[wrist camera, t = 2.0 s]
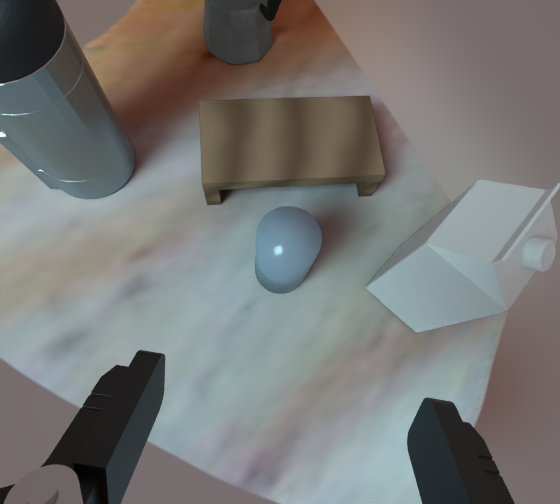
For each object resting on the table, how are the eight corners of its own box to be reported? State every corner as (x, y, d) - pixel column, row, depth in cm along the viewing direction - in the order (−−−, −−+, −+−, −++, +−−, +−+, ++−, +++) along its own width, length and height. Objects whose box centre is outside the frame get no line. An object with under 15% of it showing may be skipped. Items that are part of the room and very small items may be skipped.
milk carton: (363, 288, 41) (454, 220, 22) (402, 243, 42) (514, 148, 24) (415, 333, 39) (554, 301, 21) (452, 286, 41) (609, 219, 23)
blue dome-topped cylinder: (257, 295, 39) (258, 271, 30) (253, 246, 41) (253, 208, 32) (308, 291, 40) (326, 266, 30) (302, 243, 42) (318, 204, 32)
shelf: (207, 204, 42) (201, 183, 37) (204, 129, 45) (198, 100, 40) (371, 195, 44) (385, 174, 39) (357, 123, 47) (369, 95, 42)
